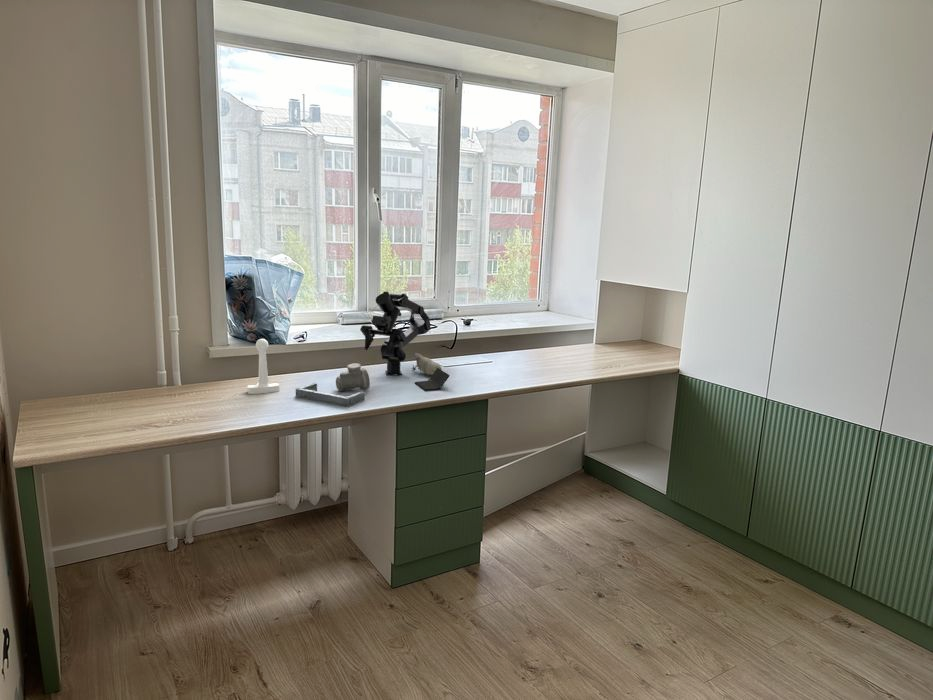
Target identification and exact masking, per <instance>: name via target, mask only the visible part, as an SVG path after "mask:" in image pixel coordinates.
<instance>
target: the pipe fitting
mask: <svg viewBox="0 0 933 700" xmlns="http://www.w3.org/2000/svg"><path fill="white" fill-rule="evenodd" d="M346 367H347V370H346V371H345V370H344V371H342V372H340V373H339V375H338V376H337V377H336V378H335V386H336V389H337V390H338V391H339V392H341V393H342V392H345V391H351V390H353V389H358V388H360V389H361V390H366V389H369V388H370V385H371V383H370V376H369V375H370V374H369V372H368V371H367V369H366V368H365V367H362V365H361V363H357V362H354V363H352V362H351V363H349V364H347V366H346Z"/></svg>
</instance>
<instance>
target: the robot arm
mask: <svg viewBox="0 0 933 700" xmlns="http://www.w3.org/2000/svg"><path fill="white" fill-rule="evenodd" d="M375 303H376V304H377V305H378V307H379V308H380V310H381V312H382V313H383V315H382V316H381V315H380V316H379V315H372V319H371V324H373V325H375V326H374V327H375V328H373V326H371V325H367V324H363V325H361V327H360V332H361V333H362V335H363V336H364V340H365V341H364V350H365V351H368V349H369V348H370V346H371V345H372V343H373V341H374V340H375V339H374V337H375V336H376V335H378V336H386V337H389V338H387V339H386V340H385V341H383V344H382V345H381V346H380V353H381V354H380V355H381V359H382V360H386V370H385V374H386V376H402V375H403V373H402V371H401V362H404V361H405V360H406V353H405V351H404V348H405V347H407V345H408V344H410V343H411V342H412V341H413V340H414V339H415V338H417V336H420V335H425V334H427V333H428V332H429V331H430V329H431V326H432V325H431V321H430V320H431V319H430V317H429V316H428V314H427V313H426V311H425V309H424V308H425V307H424V306H422V305H420V304H418V303H416V302H415V301H412V300H410V298H409V296H407V294H406V293H400V292H389V291H387V290H385V291H383V292H382V293H380V294H379V295H378V296H376V298H375ZM399 308H402V309H403V310H405V311H408V312H410V317H409V327H408V328H407V329H406V330H405V331H403V330H402V329H399V328H396V326H397V325H396V323H397V320H398V317H401V316H402V312H401V310H400V309H399ZM415 315H419V316H420V318H415Z"/></svg>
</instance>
